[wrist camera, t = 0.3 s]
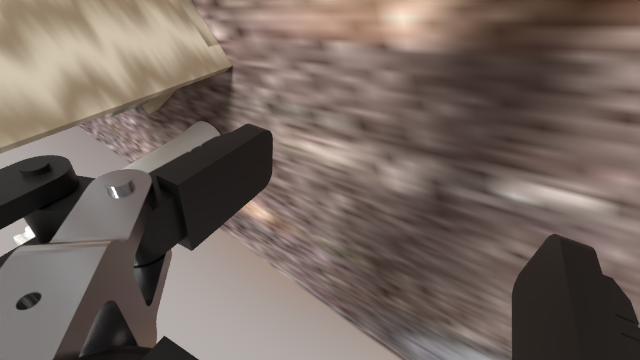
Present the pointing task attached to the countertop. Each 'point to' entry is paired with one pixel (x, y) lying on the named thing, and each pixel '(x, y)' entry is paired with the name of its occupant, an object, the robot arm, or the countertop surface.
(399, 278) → the countertop surface
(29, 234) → the cosmetic bottle
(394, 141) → the countertop surface
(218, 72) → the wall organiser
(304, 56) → the countertop surface
